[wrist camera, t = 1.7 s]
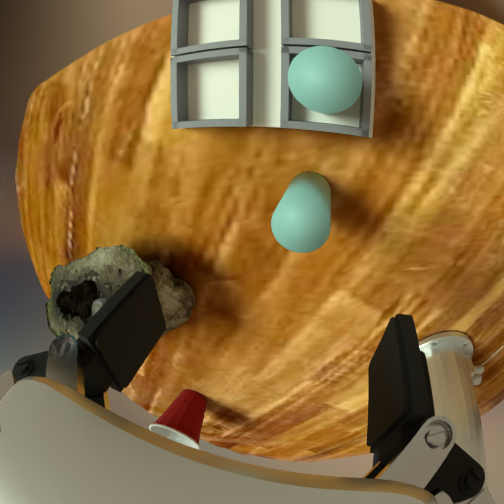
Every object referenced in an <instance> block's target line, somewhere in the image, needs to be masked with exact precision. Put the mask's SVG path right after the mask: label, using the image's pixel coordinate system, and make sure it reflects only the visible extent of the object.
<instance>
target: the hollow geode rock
mask: <svg viewBox="0 0 504 504" xmlns="http://www.w3.org/2000/svg"><path fill="white" fill-rule="evenodd" d="M137 271H139V272H144V273H148V274H150V275H151V276H152V278H153V279H154V281H155V285H156V289H157V293H158V297H159V301H160V304H161V308H162V312H163V315H164V319H165V322H166V329H165V331H164V333H163V334H162V336H163V335H165V334H166V333H167V332H169V331H171V330H173V329H175V328H177V327H179V326H180V325H181V324H182V323H184V322H186V321H187V320H188V319H189V318H188V317H190V316H191V310H192V308H193V306H194V303H195V296H194V294H193V290H192V289H191V287H190V286H189V285H188V284H187V283H186V282H184V281H183V280H181V279H177V278H174V277H173V275H172V274H171V273H170V271H169V270H168V269H167V268H166V267H164V266H163V265H162V264H161V262H160V260H154V261H147V262H143V261H142V260H141V259H140V258H139V256H138V255H137V253H136V252H135V251H134V250H133V249H130V248H129V247H125V246H123V245H120V246H113V247H111V248H110V247H105V248H102V247H97V248H96V249H95V251H93V252H92V253H90V254H88V255H87V256H86V257H85V258H82V259H78V260H75V261H71V262H70V263H69V264H68V265H66V266H65V267H63V266H62V265H57V266H56V267H55V268H54V270H53V272H52V273H51V279H50V281H49V284H51V298H50V299H49V303H46V314H47V321H48V326H49V328H50V329H51V331H52V332H53V334H54V335H56V337H58V336H60V335H63V334H71V335H73V336H75V337H76V339H78V338H79V336H78V334H77V333H78V332H79V331H80V330H81V329H82V328H83V327H84V325H85V324H86V323H87V322H88V321H89V320H90V319H91V318H92V317H93V316H94V315H95V313H96V312H97V311H98V310H99V309H100V308H101V307H102V306H103V305H104V304H105V303H106V302H107V301H108V300H109V299H110V298H111V297H112V296H113V294H114V293H115V292H116V291H117V290H118V289H119V288H120V287H121V286H122V285H123V284H124V283H125V282H126V281H127V280H128V279H129V278H130V277H131V276H132V275H133V274H134V273H135V272H137ZM95 283H96V284H95ZM96 285H97V286H96ZM162 336H161V337H162Z"/></svg>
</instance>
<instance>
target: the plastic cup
mask: <svg viewBox="0 0 504 504" xmlns="http://www.w3.org/2000/svg"><path fill="white" fill-rule="evenodd" d="M206 403H207V400H206V398H205V397H204V396H202V395H201V394H199V393H198V392H196V391H193V390H189V389H185V390H183V391H182V392H181V393H180V395H179V396H178V397H177V398H176V400H174V401H173V403H172V404H171V405H170V406H169V407H168V409H167V410H166V411H165V412H164V414H163V415H162V416H161V417H160V418H159V419H158V420H157V421H156V422H155V423H153V424H151V425H150V426H149V429H150V431H152V432H154V433H157V434H159V435H161V436H164V437H166V438H169V439H171V440H174V441H176V442H179V443H182V444H184V445H187V446H190V447H193V448H196V449H198V450H200V447H199V438H200V431H201V427H202V423H203V419H204V413H205V409H206V405H207V404H206Z"/></svg>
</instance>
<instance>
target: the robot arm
mask: <svg viewBox="0 0 504 504" xmlns="http://www.w3.org/2000/svg"><path fill="white" fill-rule="evenodd" d="M165 329H166V322H165V319H164V315H163V312H162V308H161V304H160V301H159V297H158V293H157V289H156V285H155V281H154V279H153V278H152V276H151V275H150V274H148V273H144V272H139V271H137V272H135V273H134V274H133V275H132V276H131V277H130V278H129V279H128V280H127V281H126V282H125V283H124V284H123V285H122V286H121V287H120V288H119V289H118V290H117V291H116V292H115V293H114V294H113V296H112V297H111V298H110V299H109V300H108V301H107V302H106V303H105V304H104V305H103V306H102V307H101V308H100V309H99V310H98V311H97V312H96V313H95V315H94V316H93V317H92V318H91V319H90V320H89V321H88V322H87V323H86V324H85V325H84V327H83V328H82V329H81V330H80V331H79V332H78V333H77V334H78V336H79V338H78V339H76V337H75V336H73V335H71V334H63V335H60V336H58V337H56V338H55V339H54V340H53V341H52V342H51V344H50V346H49V350H48V351H45V352H42V353H38V354H33V355H29V356H25V357H23V358H21V359H19V360H18V361H17V362H16V364H15V366H14V368H13V371H12V369H10V370H8V371H6V372H5V373H3V374H1V375H0V504H495V502H494V500H493V498H492V496H491V494H490V492H489V485H488V477H487V467H486V457H485V448H484V439H483V431H482V425H481V419H480V413H479V408H478V403H477V398H476V394H475V389H474V385H479V384H480V383H481V380H482V375H481V374H482V373H483V372H484V366H483V365H476V366H474V365H473V363H472V356H473V351H474V349H473V344H472V342H471V339H470V338H469V337H468V336H467V335H465V334H464V333H460V332H452V331H450V332H442V333H438V334H435V335H432V336H429V337H427V338H425V339H423V340H421V341H419V342H418V338H417V333H416V329H415V325H414V321H413V317H412V316H411V315H404V314H397V315H396V316H395V318H394V317H392V318H391V319H390V321H389V323H388V326H387V328H386V330H385V332H384V334H383V337H382V339H381V341H380V343H379V345H378V347H377V349H376V351H375V353H374V356H373V358H372V359H371V362H370V364H369V402H368V429H367V446H371V447H370V453H378V461H379V462H378V463H377V464H376V465H375V466H374V467H373V468H372V469H371V470H370V471H369V472H368V473H367V474H366V475H365V476H364V477H363V478H348V477H332V476H321V475H312V474H304V473H295V472H289V471H282V470H276V469H271V468H266V467H261V466H256V465H252V464H247V463H243V462H239V461H235V460H232V459H228V458H224V457H221V456H217V455H214V454H211V453H208V452H205V451H201V450H198V449H196V448H193V447H190V446H187V445H184V444H182V443H179V442H176V441H174V440H171V439H169V438H166V437H164V436H161V435H159V434H157V433H154V432H152V431H150V430H148V429H145V428H143V427H141V426H139V425H137V424H135V423H132V422H130V421H128V420H126V419H124V418H123V417H121V416H119V415H117V414H115V413H113V412H111V411H110V405H109V398H108V391H107V390H108V388H109V386H110V387H111V388H113V389H115V390H117V391H119V392H121V391H122V390H123V388H126V387H127V386H128V385H129V384H130V382H131V380H132V379H133V377H134V376H135V374H136V373H137V371H138V370H139V368H140V367H141V365H142V364H143V362H144V361H145V359H146V358H147V356H148V355H149V353H150V352H151V350H152V349H153V347H154V346H155V345H156V343H157V342H158V340H159V339H160V337H161V336H162V334H163V333H164V331H165Z"/></svg>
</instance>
